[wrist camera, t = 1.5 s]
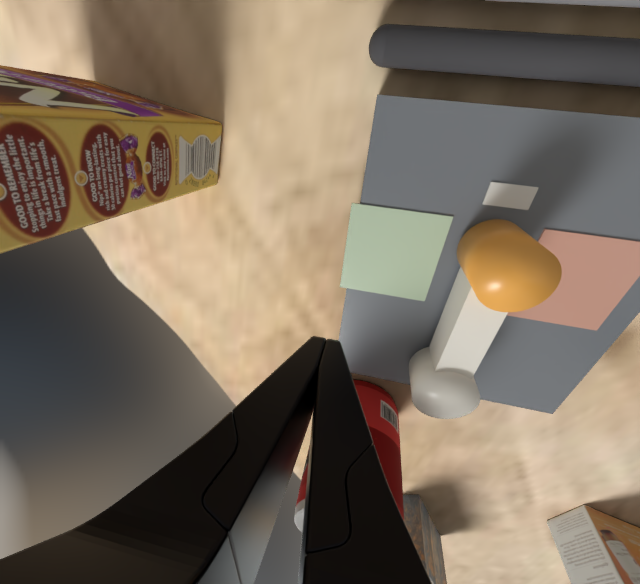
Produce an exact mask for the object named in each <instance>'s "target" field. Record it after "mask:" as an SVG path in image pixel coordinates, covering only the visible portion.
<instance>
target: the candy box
mask: <svg viewBox="0 0 640 584" xmlns="http://www.w3.org/2000/svg"><path fill="white" fill-rule="evenodd" d="M221 133H222V124H221V123H220V122H218V121H215V120H211V119H208V118H205V117H201V116H198V115H195V114H191V113H188V112H185V111H182V110H179V109H175V108H172V107H169V106H166V105H163V104H160V103H157V102H154V101H151V100H148V99H145V98H142V97H139V96H136V95H133V94H130V93H127V92H124V91H121V90H118V89H115V88H112V87H109V86H106V85H103V84H100V83H98V82H95V81H91V80H85V79H78V78H72V77H66V76H60V75H55V74H49V73H43V72H36V71H31V70H25V69H19V68H13V67H7V66H1V65H0V254H1V253H4V252H7V251H10V250H13V249H16V248H20V247H23V246H26V245H29V244H33V243H36V242H39V241H42V240H45V239H48V238H51V237H54V236H57V235H60V234H63V233H66V232H70V231H73V230H76V229H80V228H83V227H86V226H89V225H92V224H95V223H98V222H101V221H104V220H107V219H110V218H113V217H117V216H120V215H122V214H126V213H129V212H132V211H135V210H139V209H142V208H145V207H148V206H152V205H155V204H158V203H161V202H164V201H167V200H170V199H173V198H176V197H179V196H182V195H185V194H189V193H191V192H195V191H198V190H200V189H203V188H207V187H210V186H213V185H216V184H217V183H218V169H219V155H220V144H221Z"/></svg>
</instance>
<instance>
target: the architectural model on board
mask: <svg viewBox="0 0 640 584" xmlns="http://www.w3.org/2000/svg"><path fill="white" fill-rule="evenodd" d="M403 507H404V523H405V525H406V527H407V529H408V531H409V534H410V536H411V538H412V540H413V542H414V545H415V547H416V549H417V551H418V554H419V556H420V558H421V560H422V562H423V565H424V567H425V569H426V571H427V573H428V576H429V578H430V580H431V582H432V584H447V581H446V574H445V567H444V559H443V552H442V545H441V538H440V534H439V533H438V531H437V529H436V527H435V525H434V523H433V521H432V519H431V517H430V515H429V513H428V511H427V510H426V508H425V506H424V504H423V502H422V500H421V498H420V496H419V495H403Z"/></svg>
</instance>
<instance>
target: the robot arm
mask: <svg viewBox="0 0 640 584" xmlns="http://www.w3.org/2000/svg"><path fill="white" fill-rule="evenodd" d="M312 413H313V418H312V429H311V440H310V452H309V463H308V474H307V485H306V497H305V508H304V519H303V531H302V543H301V553H300V564H299V576H298V584H432V582H431V580H430V578H429V576H428V573H427V571H426V569H425V567H424V565H423V562H422V560H421V558H420V556H419V554H418V551H417V549H416V547H415V545H414V542H413V540H412V538H411V536H410V534H409V531H408V529H407V527H406V525H405V523H404V520H403V518H402V516H401V514H400V511H399V509H398V507H397V504H396V502H395V499H394V497H393V495H392V492H391V490H390V488H389V485H388V483H387V480H386V477H385V474H384V471H383V469H382V466H381V463H380V460H379V457H378V454H377V451H376V448H375V445H373V439H372V436H371V433H370V430H369V427H368V424H367V421H366V418H365V415H364V412H363V409H362V406H361V403H360V400H359V397H358V394H357V390H356V387H355V384H354V381H353V378H352V375H351V372H350V369H349V366H348V363H347V360H346V357H345V354H344V351H343V348H342V345H341V342H340V341H338V340H332V339H327V340H326V339H325V338H322V337H317V336H313V337H311V338H310V339H309V340H308V341H307V342H306V343H305V344H303V345H302V346H301V347H300V348H299V349H298V350H297V351H296V352H295V353H294V354H293V355H292V356H290V357H289V358H288V359H287V360H286V361H285V362H284V363H283V364H282V365H281V366H280V367H278V368H277V369H276V370H275V371H274V372H273V373H272V374H271V375H270V376H269V377H268V378H267V379H265V380H264V381H263V382H262V383H261V384H260V385H259V386H258V387H257V388H256V389H255V390H253V391H252V392H251V393H250V394H249V395H248V396H247V397H246V398H245V399H244V400H243V401H242V402H240V403H239V404H238V405H237V406H236V407H235V408H234V409H233V412H229V413H228V414H227V415H226V416H225V417H224V418H223V419H222V420H221V421H220V422H219V423H218V424H216V425H215V426H214V427H213V428H212V429H211V430H209V431H208V432H207V433H206V434H205V435H204V436H203V437H201V438H200V439H199V440H198V441H196V442H195V443H194V444H193V445H191V446H190V447H189V448H187V449H186V450H185V451H184V452H182V453H181V454H180V455H179V456H177V457H176V458H175V459H173V460H172V461H171V462H169V463H168V464H167V465H165V466H164V467H163V468H161V469H160V470H159V471H158V472H156V473H155V474H154V475H152V476H151V477H149V478H148V479H147V480H145V481H144V482H143V483H142V484H140V485H139V486H138V487H136V488H135V489H134V490H132V491H131V492H130V493H128V494H127V495H126V496H124V497H123V498H122V499H120V500H119V501H118V502H116V503H115V504H114V505H112V506H111V507H109V508H108V509H106V510H105V511H103V512H102V513H100V514H99V515H97V516H95V517H94V518H92V519H91V520H89V521H87V522H85V523H84V524H81V525H80V526H77V527H76V528H74V529H72V530H69V531H67V532H65V533H63V534H60V535H58V536H56V537H53V538H51V539H49V540H46V541H43V542H41V543H39V544H36V545H34V546H31V547H29V548H27V549H24V550H22V551H19V552H17V553H15V554H12V555H10V556H7V557H5V558H3V559H0V584H254V581H255V579H256V575H257V573H258V570H259V567H260V564H261V561H262V558H263V555H264V552H265V550H266V546H267V544H268V540H269V538H270V535H271V532H272V529H273V526H274V523H275V521H276V517H277V515H278V512H279V509H280V506H281V503H282V500H283V497H284V494H285V492H286V488H287V486H288V482H289V480H290V477H291V474H292V471H293V468H294V465H295V463H296V460H297V457H298V454H299V451H300V448H301V445H302V442H303V439H304V437H305V434H306V431H307V428H308V425H309V422H310V419H311V416H312Z"/></svg>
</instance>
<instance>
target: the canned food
mask: <svg viewBox="0 0 640 584" xmlns="http://www.w3.org/2000/svg"><path fill="white" fill-rule="evenodd" d="M353 381H354V384H355V387H356V390H357V394H358V397H359V400H360V403H361V406H362V409H363V412H364V415H365V418H366V421H367V424H368V427H369V430H370V433H371V436H372V439H373V445H375V448H376V451H377V454H378V457H379V460H380V463H381V466H382V469H383V471H384V474H385V477H386V480H387V483H388V485H389V488H390V490H391V492H392V495H393V497H394V499H395V502H396V504H397V507H398V509H399V511H400V514H401V516H402V518H403V520H404V507H403V490H402V472H401V454H400V437H399V419H398V411H397V408H396V405H395V403H394V401H393V399H392V397H391V396H390V395H389V394H388V393H387V392H386V391H385V390H383V389H382V388H380V387H378V386H377V385H374V384H372V383H369V382H365V381H360V380H353ZM309 452H310V446H309V450H308V455H307V459H306V463H305V468H304V472H303V476H302V481H301V485H300V489H299V495H298V499H297V504H296V509H295V517H294V521H295V524H296V526H297V527H298V529H299V530H300V531H301V532H302V531H303V519H304V508H305V497H306V485H307V474H308V463H309Z"/></svg>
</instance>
